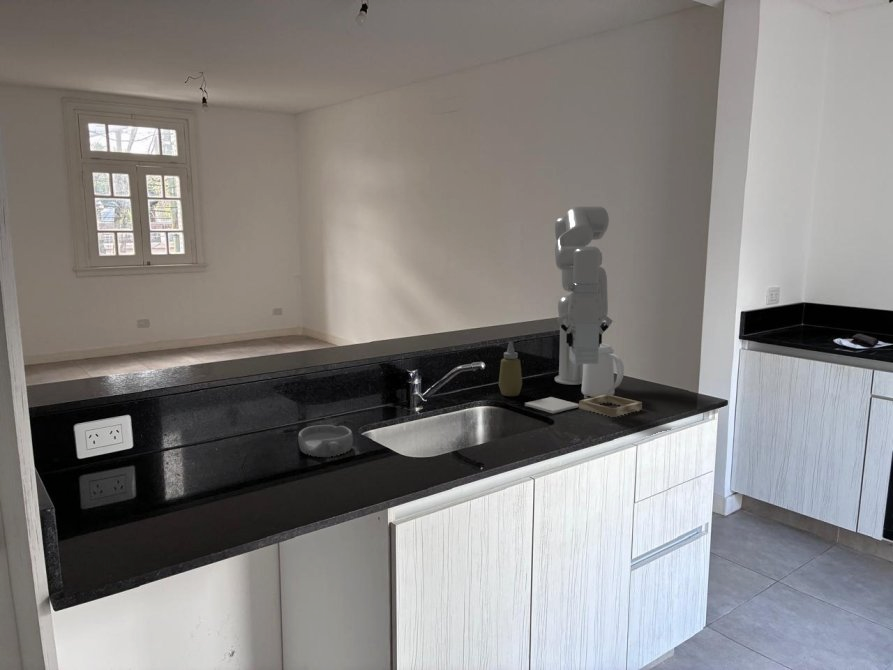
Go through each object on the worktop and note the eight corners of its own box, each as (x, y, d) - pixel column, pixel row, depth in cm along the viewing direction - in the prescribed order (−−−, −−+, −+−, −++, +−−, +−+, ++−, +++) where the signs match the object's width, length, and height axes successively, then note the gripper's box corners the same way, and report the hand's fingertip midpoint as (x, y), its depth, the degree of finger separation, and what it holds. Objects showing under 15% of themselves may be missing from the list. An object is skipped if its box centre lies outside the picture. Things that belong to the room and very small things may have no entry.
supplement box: (591, 359, 209) (593, 319, 207) (598, 364, 202) (599, 323, 200) (568, 359, 209) (569, 319, 207) (574, 364, 202) (575, 323, 199)
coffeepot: (587, 384, 238) (588, 332, 235) (634, 400, 216) (636, 343, 213) (562, 388, 233) (563, 335, 230) (607, 404, 211) (609, 346, 208)
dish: (342, 461, 162) (341, 441, 161) (289, 457, 165) (288, 438, 164) (361, 442, 176) (361, 424, 175) (312, 439, 179) (311, 421, 178)
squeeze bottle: (496, 396, 222) (496, 343, 219) (501, 391, 229) (501, 339, 227) (519, 398, 220) (520, 344, 217) (524, 392, 227) (525, 340, 224)
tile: (551, 399, 218) (551, 396, 218) (579, 406, 209) (579, 404, 209) (524, 405, 211) (524, 403, 211) (553, 413, 201) (553, 410, 201)
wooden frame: (606, 401, 215) (606, 394, 214) (641, 410, 204) (641, 402, 204) (578, 408, 207) (579, 400, 206) (614, 417, 196) (614, 409, 196)
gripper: (557, 290, 199) (556, 348, 202) (616, 290, 197) (614, 348, 200) (555, 287, 206) (554, 343, 209) (612, 288, 205) (610, 344, 207)
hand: (583, 345), depth 205 cm, fingers closed on supplement box, 8 cm apart
